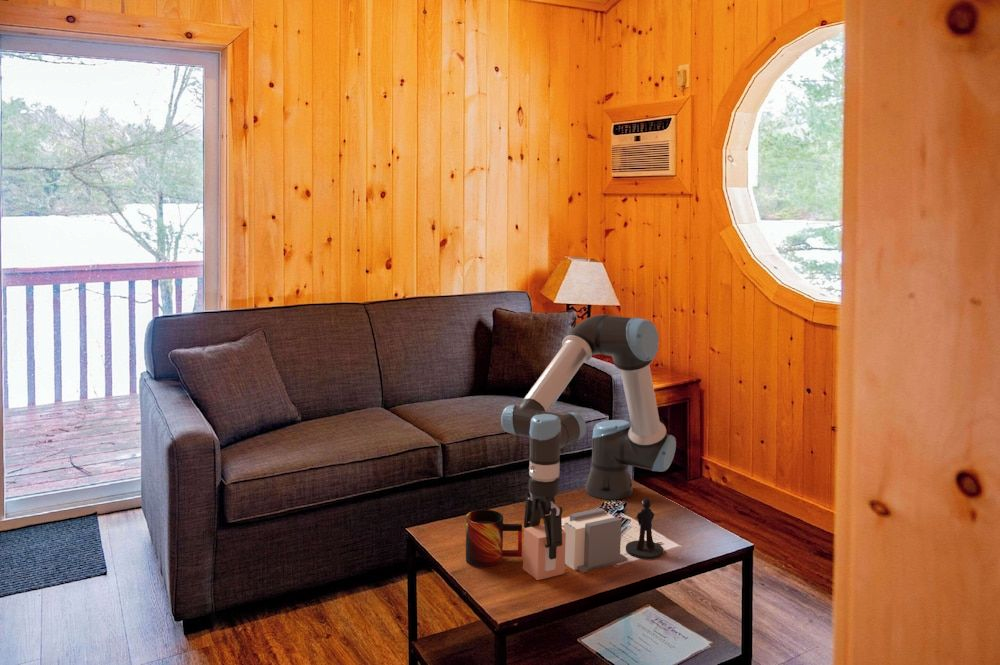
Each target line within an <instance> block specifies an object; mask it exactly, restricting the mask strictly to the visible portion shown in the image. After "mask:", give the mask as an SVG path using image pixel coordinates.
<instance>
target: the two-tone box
mask: <svg viewBox="0 0 1000 665" xmlns="http://www.w3.org/2000/svg"><path fill="white" fill-rule="evenodd" d="M563 525H564V528H563V531H564V532H566V541H565V566H567V567H569V568H571V569H572V570H573V571H576V570H578V571H579V572H580V573H585V572H589V571H593V570H598V569H601V568H605V567H609V566H610V567H611V566H613V565H617V564H621V563H625V562H628V557H626V556H625V555H623V554H622V553H621V544H622V543H621V540H622V519H621V518H620V517H618V516H614V515H612V514H611V513H609V512H608V513H606V510H605V509H604V508H602V507H599V508H593V509H589V510H584V511H579V512H575V513H571V514H569V521H566V522H564V524H563Z"/></svg>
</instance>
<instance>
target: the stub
mask: <svg viewBox="0 0 1000 665" xmlns="http://www.w3.org/2000/svg"><path fill="white" fill-rule="evenodd" d="M565 541H566V532H564V529H562V546H558V547H557V550H556V569H554V570H550V571H545V545H547V539H546V532H545V526H544V523H543V524H539V525H537V526H532V527H528V528H524V527H523V552H522V555H523V556H522V557H523V558H522V562H523V564H522V565H523V566H522V569H523V571H525V572H526V573H528V574H529V575H530V576H532V577H533V578H534V579H535V580H537V581H540V580H544V579H548V578H553V577H557V576H560V575H563V574H565V573H566V572H565V570H566V569H565V568H566V564H565Z"/></svg>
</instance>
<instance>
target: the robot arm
mask: <svg viewBox="0 0 1000 665" xmlns="http://www.w3.org/2000/svg"><path fill="white" fill-rule="evenodd" d="M659 343H660V337H659V333H658V329H657V327H656V325H655V324H654V322H652V321H651V320H649V319H645V318H641V317H629V316H628V317H627V316H619V315H611V314H610V315H609V314H604V313H603V314H602V313H601V314H596V315H592V316H590V317H588V318H586V319H584V320H582V321H580V322H579V323H578V324H576V325H575V326H573V328H571V329H570V330H569V331H568V332H567V334H566V335H565V336H564V338H563V339H562V341H561V348H560V349H559V350H558V352H556V354H555V355H554V357H553V359H552V360H551V361H550V363H549V364H548V365H547V366H546V367H545V369H544V371H543V372H542V373H541V375H540V376H539V378H537V380H536V382H534V384H533V385H532V386H531V388H530V390H529V391H527V392H528V393H526V395H525V396H524V398H523V399H522V400H521V401H520V403H519V404H518V405H517V404H511V405H508V406H505V408H504V409H503V410H502V414H501V416H500V426H501V427H502V429H503V431H504V432H506V433H509V434H511V435H514V436H520V437H521V436H522V437H524V438H525V437H526V438H529V466H528V470H529V471H528V474H529V475H528V476H529V478H528V491H525V495H524V496H525V508H524V519H523V520H524V521H523V529H524V528H528V527H532V526H537V525H541V524H540V523H541V520H543V524H544V526H545V532H546V539H547V545H545V571H550V570H554V569H556V550H557V547H558V546H562V530H563V526H562V516H563V515H562V513H563V507H562V506H557V505H556V500H555V497H556V495H558V493H559V491H560V478H559V477H560V469H561V468H560V467H561V466H560V465H561V462H560V455H561V449H564V448H565V447H567V446H569V445H572V444H574V443H577V442H578V441H579V440H580V439H582V438H584V436H585V435H586V432H587V423H586V421H585V419H584V418H583V416H582V415H581V414H579V413H577V412H576V411H575V412H574V411H573V412H572V411H571V412H565V413H564V414H563V413H562V414H560V413H555V412H551V411H550V410H551V409H552V408H553V406H554V405H555V403H556V402H557V400H558V399H559V397H560V396H561V395H562V393H563V392H564V390H565V389H566V388H567V386H568V385H569V384H570V382H571V381H572V379H573V378H574V376H575V375H576V374H577V372H578V371H579V369H580V368H581V366H582V365H583V364H584V363H586V362H588V361H589V360H591V359H592V357H593V356H595V355H603V356H609V357H611V358H612V361H613V362H612V363H613V365H614V367H615V368H616V369H617V370H619V371H620V375H621V376H620V377H621V379H622V380H621V381H622V386H623V391H624V395H625V401H626V405H627V410H628V415H629V420H630V421H628V420H624V419H610V420H609V419H608V420H603V421H600V422H597V423H596V424H595V425H594V426H593V432H592V437H591V438H592V446H591V447H592V448H591V449H592V450H591V452H592V453H591V468H590V471H589V474H588V477H587V480H586V482H585V493H587V494H588V495H589V496H591V497H594V498H597V499H602V500H623V499H626V498H629V497H631V496H632V495H633V490H634V489H633V488H634V486H633V482H632V479H631V475H630V472H629V467H630V466H631V467H636V468H639V469H643V470H648V471H652V472H660V473H661V472H662V473H663V472H666V471H667V470H668V469H669V468H670V466H671V465H672V462H673V460H674V457H675V453H676V449H677V441H676V440H677V439H676V437H675V436H674V435H672V434H667V433H668V432H667V428H666V426H665V424H664V423H663V422H662V421H660V416H659V410H658V406H657V405H658V404H657V400H656V394H655V388H654V382H653V376H652V370H651V367H650V365H651V364H652V362H653V361H654V359H655V357H656V356H657V355H658V354H657V353H658V351H659V346H660V345H659Z"/></svg>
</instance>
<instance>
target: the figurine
mask: <svg viewBox="0 0 1000 665" xmlns="http://www.w3.org/2000/svg"><path fill="white" fill-rule="evenodd" d="M641 503H642V507H643V508H642V509H641V510H640V512H639V511H638V513H637V514H636V515H635V519H637V521H638V525H639V538H638V539H637V540H632V541H629V542H628V543H626V545H625V552H626V554H628V555H629V556H631V557H633V558H636V559H641V560H656V559H659V558H661V557H662V556H664V551H665V550H664V547H663V546H662V545H661V544H659V543H657V542H654V538H653V533H652V526H653V525H652V524H653V523H652V521H653V519H654V516H655V513H654V512H653V511H652V509H651V508H650V507H651V505H652V503H651V500H650V499H649V498H648V497H645V498H643V500H641ZM645 536H646V539H645Z"/></svg>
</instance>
